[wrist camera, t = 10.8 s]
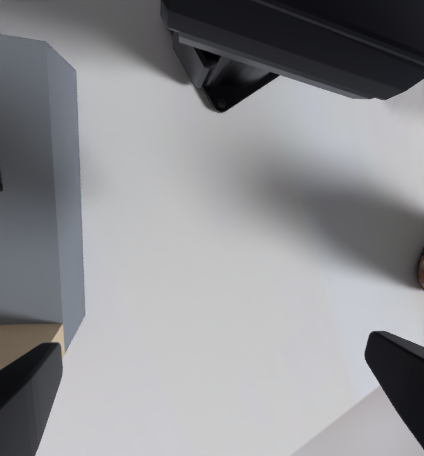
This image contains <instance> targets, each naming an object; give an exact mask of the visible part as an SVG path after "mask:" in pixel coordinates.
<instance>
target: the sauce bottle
mask: <svg viewBox="0 0 424 456" xmlns="http://www.w3.org/2000/svg"><path fill="white" fill-rule="evenodd" d="M418 279H419V283H420V285H421V286H422V287H423V289H424V255H423V256H422V257H421V260H420V265H419V272H418Z"/></svg>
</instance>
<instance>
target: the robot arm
mask: <svg viewBox="0 0 424 456" xmlns="http://www.w3.org/2000/svg"><path fill="white" fill-rule="evenodd" d="M161 18H162V20H163V21H164V23H165V25H166V27H167V29H169V30H170V32H171V34H172V36H173V49H174V51H175V53H176V54H177V56H178V58H179V60H180V61H181V63H182V65H183V67H184V68H185V70H186V72H187V74H188V75H189V77H190V79H191V81H192V82H193V84H194V86H195V87H196V88H199V89H201V88H202V89H203V91H204V92H205V94H206V96H207V98H208V100H209V101H210V103H211V105H212V107H213V108H214V110H215V111H216V112H218V113H223V112H225V111H227V110H228V109H230V108H231V107H233V106H234V105H236V104H237V103H239V102H240V101H242V100H243V99H245V98H247V97H248V96H250V95H251V94H253V93H254V92H256V91H257V90H259V89H260V88H262V87H263V86H265V85H266V84H268V83H269V82H271V81H272V80H274V79H275V78H277V77H278V76H280V75H282V76H285V77H288V78H291V79H294V80H297V81H300V82H303V83H306V84H309V85H312V86H316V87H319V88H322V89H325V90H328V91H331V92H334V93H337V94H340V95H343V96H346V97H349V98H352V99H372V98H377V99H380V100H386V99H389V98H391V97H393V96H396V95H398V94H400V93H402V92H404V91H406V90H408V89H409V88H411V87H412V86H414V85H415V84H417V83H418V82H420V81H421V80H423V79H424V0H161ZM220 100H221V101H223V102H224V108H220V107H219V106H218V101H220ZM365 360H366V362H367V364H368V366H369V367H370V369H371V371H372V372H373V374H374V375H375V377H376V379H377V380H378V382H379V384H380V385H381V387H382V389H383V390H384V392H385V393H386V395H387V397H388V398H389V400H390V402H391V403H392V405H393V406H394V408H395V410H396V411H397V413H398V414H399V416H400V417H401V418H402V420H403V421H404V423H405V424H406V425H407V427H408V428H409V430H410V431H411V433H412V434H413V435H414V437H415V438H416V439H417V441H418V442H419V443H420V445H421V446H422V448H423V449H424V347H422V346H420V345H418V344H415V343H413V342H410V341H408V340H406V339H403V338H401V337H398V336H396V335H394V334H391V333H389V332H386V331H373V332H371V333H370V335H369V338H368V342H367V345H366V349H365ZM62 372H63V366H62V350H61V345H60V343H58V342H44V343H41V344H39V345H37V346H36V347H34V348H33V349H31V350H30V351H28V352H27V353H25V354H24V355H22V356H21V357H19V358H18V359H16V360H14V361H13V362H11V363H10V364H8V365H7V366H5V367H4V368H2V369H1V370H0V456H35V454H36V452H37V449H38V447H39V444H40V441H41V438H42V436H43V433H44V430H45V427H46V423H47V420H48V417H49V414H50V411H51V408H52V405H53V402H54V399H55V396H56V393H57V390H58V387H59V384H60V381H61V378H62Z"/></svg>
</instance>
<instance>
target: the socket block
mask: <svg viewBox="0 0 424 456" xmlns="http://www.w3.org/2000/svg"><path fill="white" fill-rule="evenodd" d="M84 316H85V296H84V270H83V243H82V217H81V190H80V164H79V137H78V111H77V84H76V70H75V69H74V68H73V67H72V66H71V65H70V64H69V63H68V62H67V61H66V60H65V59H64V58H63V57H62V56H60V55H59V54H58V53H57V52H56V51H55V50H54V49H53V48H52V47H51V46H50V45H49V44H48V43H47V42H46V41H40V40H33V39H27V38H20V37H13V36H7V35H0V370H1V369H2V368H4V367H5V366H7V365H8V364H10V363H11V362H13V361H14V360H16V359H18V358H19V357H21V356H22V355H24V354H25V353H27V352H28V351H30V350H31V349H33V348H34V347H36V346H37V345H39V344H41V343H44V342H58V343H60V345H61V350H62V358H63V356H64V354H65V353H66V351H67V349H68V347H69V345H70V343H71V341H72V339H73V337H74V335H75V333H76V332H77V330H78V328H79V326H80V324H81V322H82V320H83V318H84Z"/></svg>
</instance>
